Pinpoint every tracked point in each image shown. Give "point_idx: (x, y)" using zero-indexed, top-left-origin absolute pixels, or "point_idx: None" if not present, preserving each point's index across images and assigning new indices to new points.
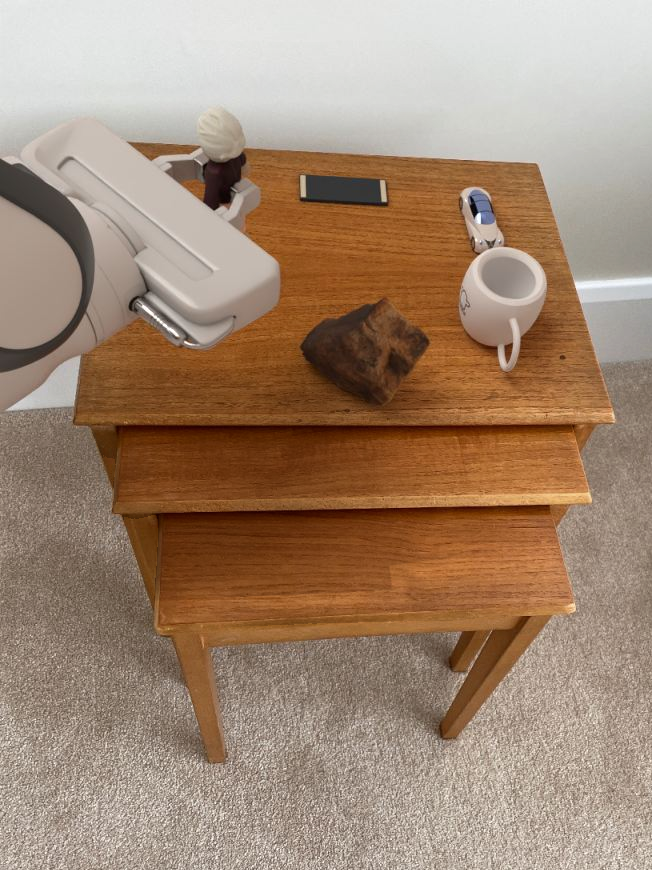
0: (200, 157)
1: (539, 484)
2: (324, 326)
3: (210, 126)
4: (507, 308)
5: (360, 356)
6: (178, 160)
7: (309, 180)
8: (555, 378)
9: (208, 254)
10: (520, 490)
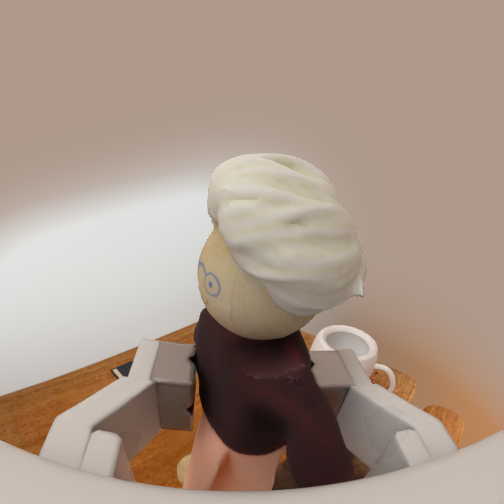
0: (164, 367)
1: (457, 431)
2: (285, 478)
3: (303, 184)
4: (373, 358)
5: (367, 471)
6: (120, 406)
7: (121, 370)
8: (389, 384)
9: None
10: (458, 442)
